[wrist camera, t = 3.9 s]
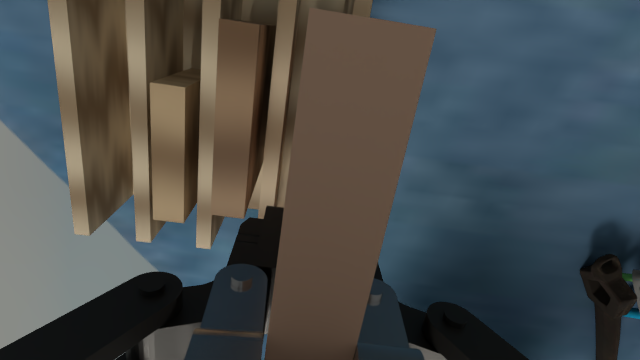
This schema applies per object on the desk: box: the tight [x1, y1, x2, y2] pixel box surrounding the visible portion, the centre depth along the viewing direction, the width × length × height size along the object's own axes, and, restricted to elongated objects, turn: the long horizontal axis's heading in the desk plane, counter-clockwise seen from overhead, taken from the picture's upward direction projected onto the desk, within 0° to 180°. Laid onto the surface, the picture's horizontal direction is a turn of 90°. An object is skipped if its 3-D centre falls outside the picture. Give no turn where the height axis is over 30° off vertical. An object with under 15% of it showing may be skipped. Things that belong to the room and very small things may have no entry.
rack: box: [48, 0, 373, 249], centre depth 27 cm, size 18×19×8 cm
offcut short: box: [150, 68, 201, 223], centre depth 27 cm, size 9×2×8 cm, turn 172°
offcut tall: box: [211, 18, 276, 219], centre depth 25 cm, size 11×2×10 cm, turn 172°
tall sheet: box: [265, 8, 436, 360], centre depth 17 cm, size 14×2×22 cm, turn 171°
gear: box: [622, 270, 640, 319], centre depth 38 cm, size 11×6×10 cm
